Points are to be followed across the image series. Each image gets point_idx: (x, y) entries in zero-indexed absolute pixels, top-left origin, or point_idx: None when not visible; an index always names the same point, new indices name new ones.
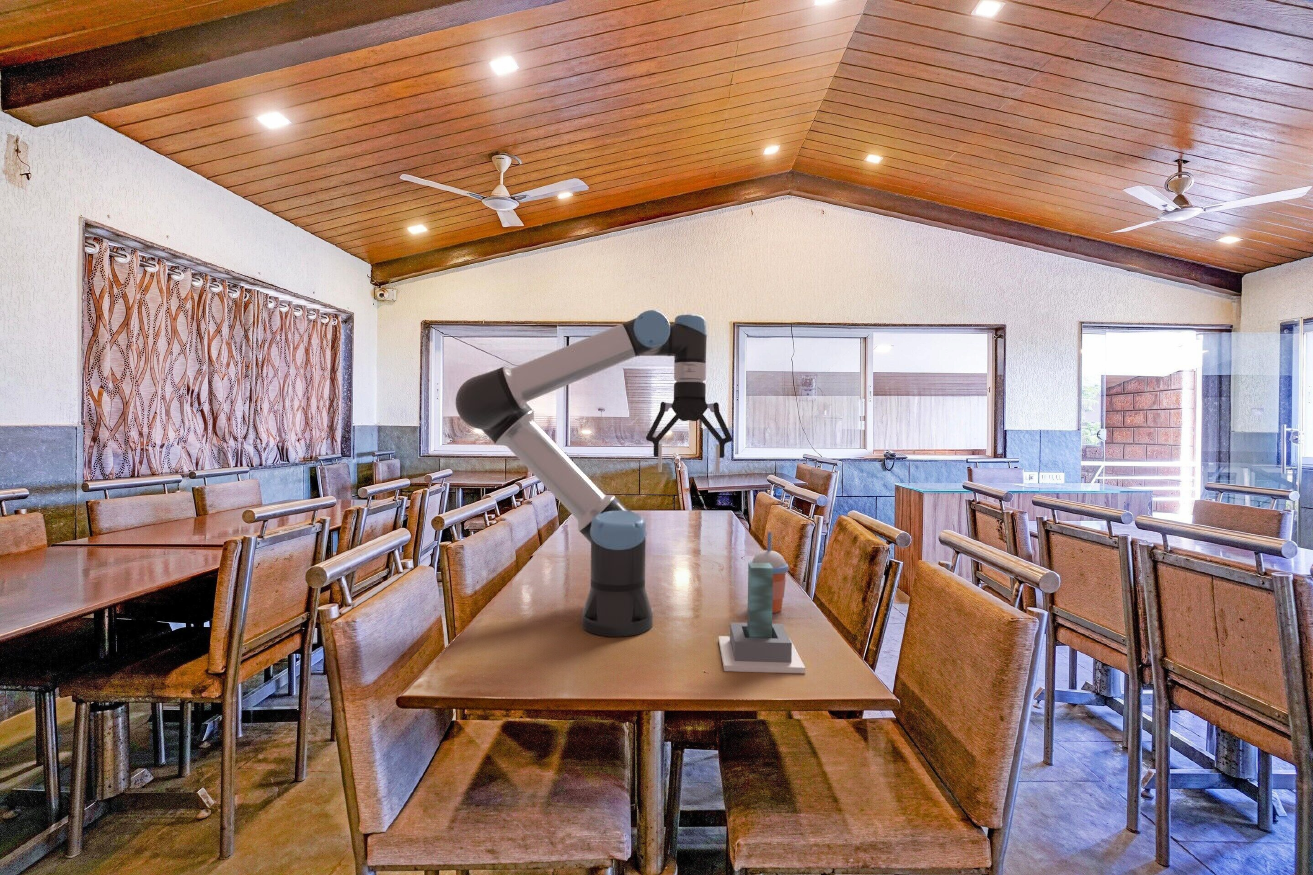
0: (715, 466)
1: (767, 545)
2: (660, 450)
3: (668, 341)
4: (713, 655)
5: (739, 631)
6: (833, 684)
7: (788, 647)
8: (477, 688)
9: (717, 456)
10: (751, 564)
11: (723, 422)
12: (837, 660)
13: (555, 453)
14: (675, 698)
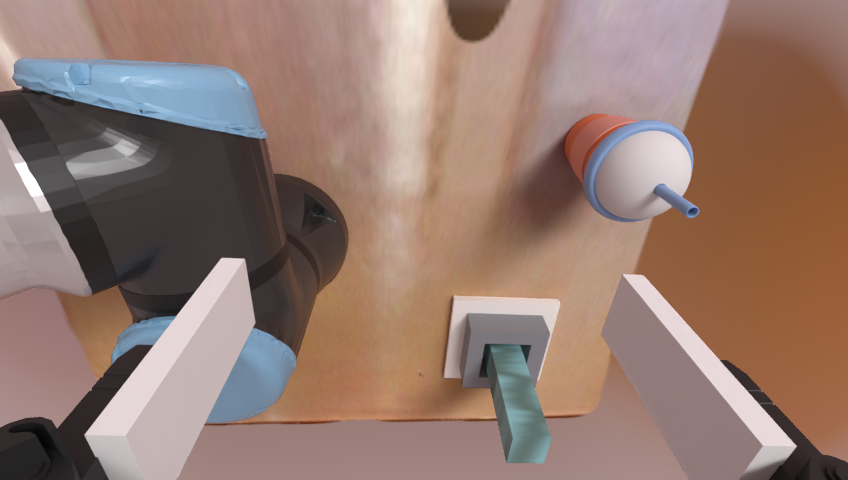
0: (637, 298)
1: (662, 196)
2: (181, 449)
3: None
4: (437, 336)
5: (476, 360)
6: (555, 393)
7: None
8: None
9: (660, 417)
10: (514, 447)
11: None
12: (594, 345)
13: None
14: (384, 419)
